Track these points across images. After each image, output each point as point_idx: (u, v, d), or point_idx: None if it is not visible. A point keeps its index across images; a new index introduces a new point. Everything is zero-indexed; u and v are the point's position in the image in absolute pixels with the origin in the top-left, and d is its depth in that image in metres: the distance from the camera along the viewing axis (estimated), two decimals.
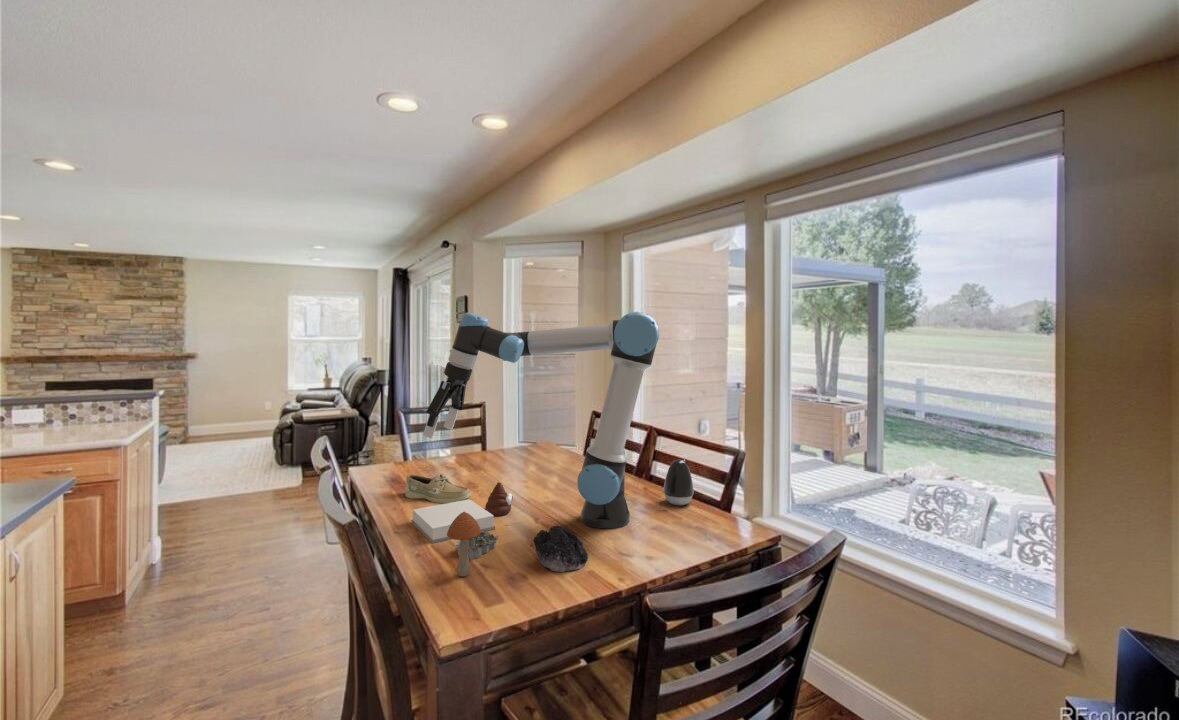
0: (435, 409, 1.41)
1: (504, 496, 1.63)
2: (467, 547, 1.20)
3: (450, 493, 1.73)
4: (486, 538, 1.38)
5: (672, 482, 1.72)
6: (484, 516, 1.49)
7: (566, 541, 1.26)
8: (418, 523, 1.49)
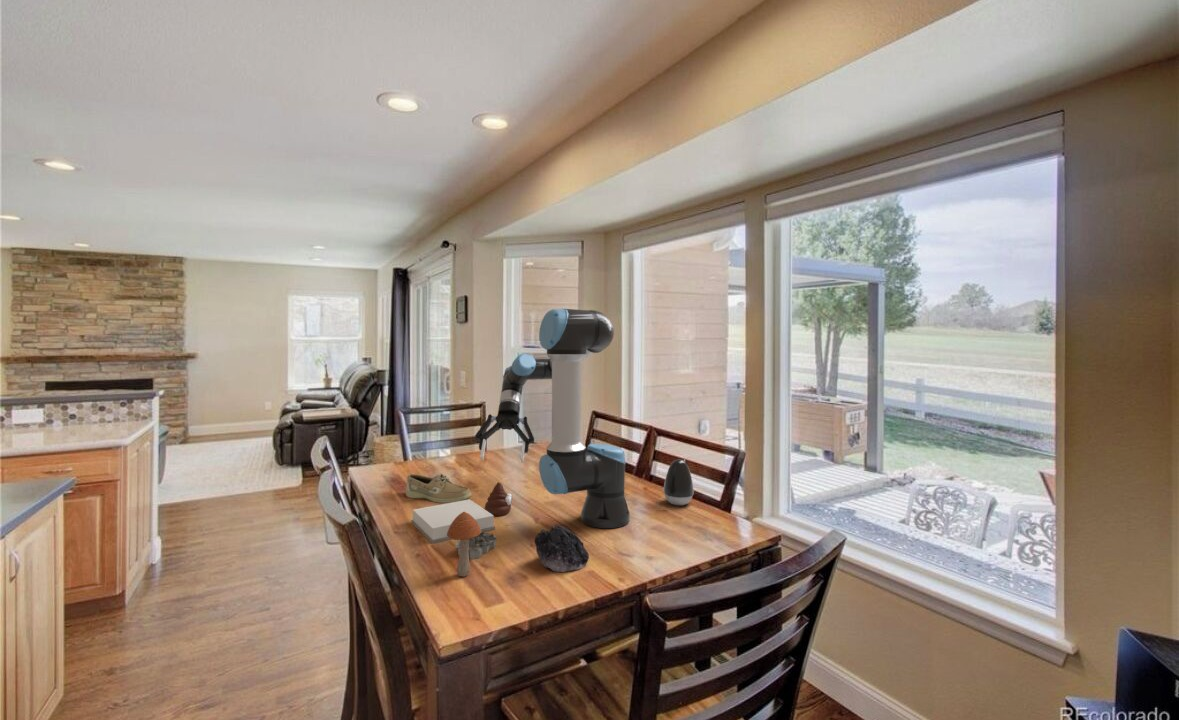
0: None
1: (504, 496, 1.63)
2: (467, 547, 1.20)
3: (450, 493, 1.73)
4: (486, 538, 1.38)
5: (672, 482, 1.72)
6: (484, 516, 1.49)
7: (567, 541, 1.26)
8: (418, 523, 1.49)
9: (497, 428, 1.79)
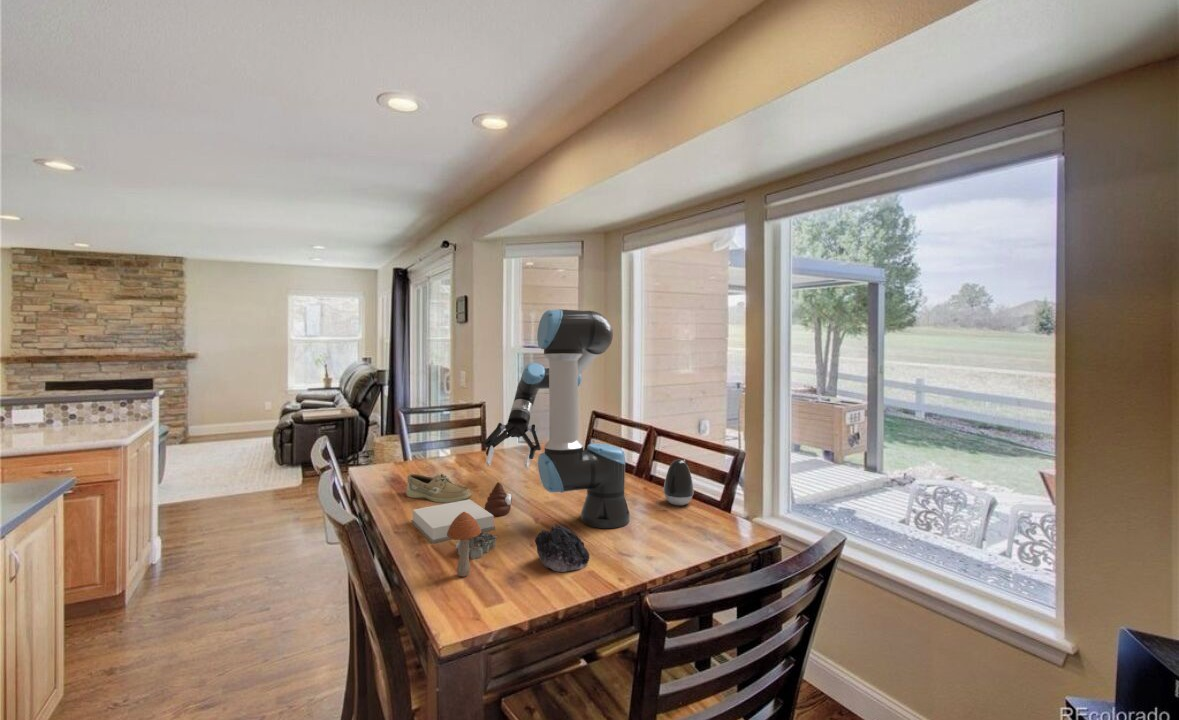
0: None
1: (503, 496, 1.63)
2: (467, 547, 1.20)
3: (450, 492, 1.73)
4: (485, 538, 1.38)
5: (672, 482, 1.72)
6: (484, 516, 1.49)
7: (568, 541, 1.26)
8: (418, 523, 1.49)
9: (506, 436, 1.81)
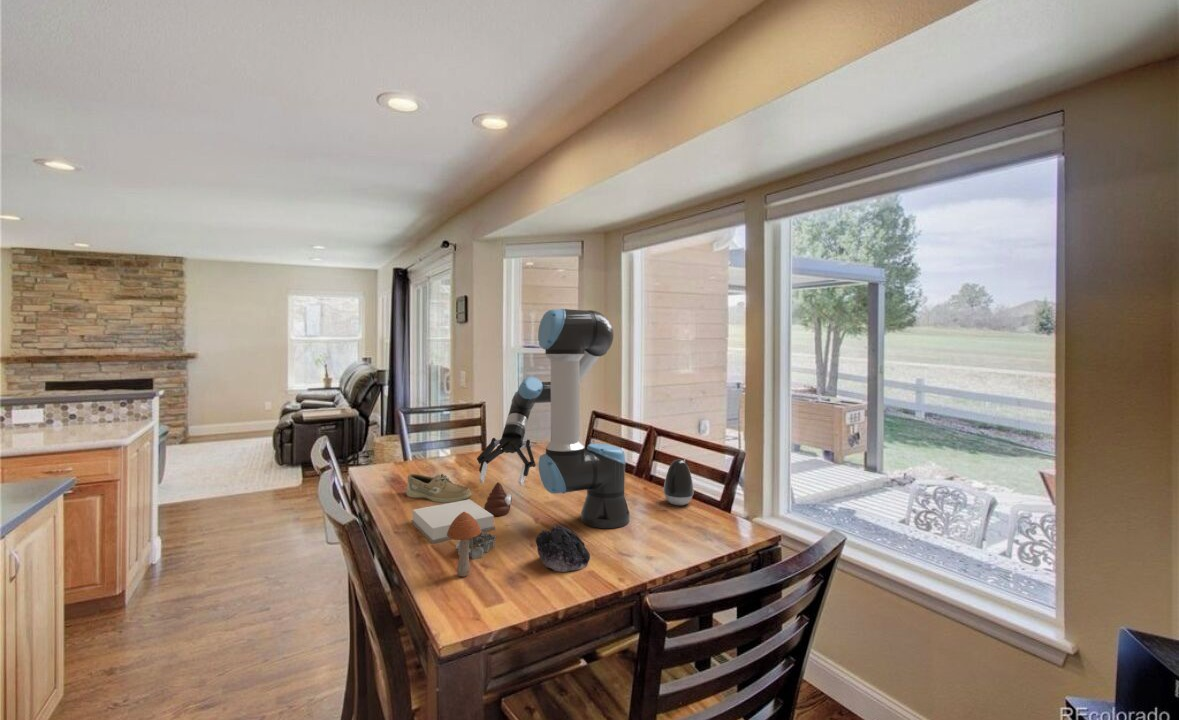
0: None
1: (503, 496, 1.63)
2: (467, 547, 1.20)
3: (450, 492, 1.73)
4: (484, 538, 1.39)
5: (672, 482, 1.72)
6: (484, 516, 1.49)
7: (568, 541, 1.26)
8: (418, 523, 1.49)
9: (500, 451, 1.76)
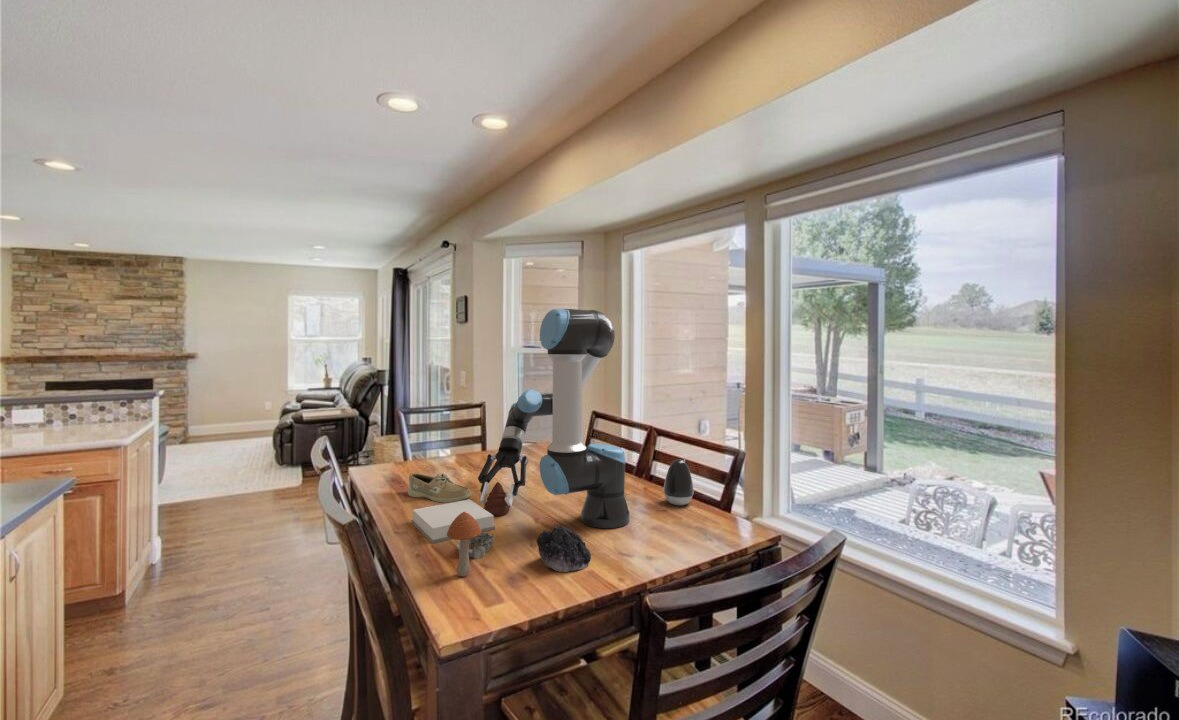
0: None
1: (503, 496, 1.63)
2: (467, 547, 1.20)
3: (450, 492, 1.73)
4: (481, 537, 1.39)
5: (672, 482, 1.72)
6: (484, 516, 1.49)
7: (569, 541, 1.26)
8: (418, 523, 1.49)
9: (498, 467, 1.70)
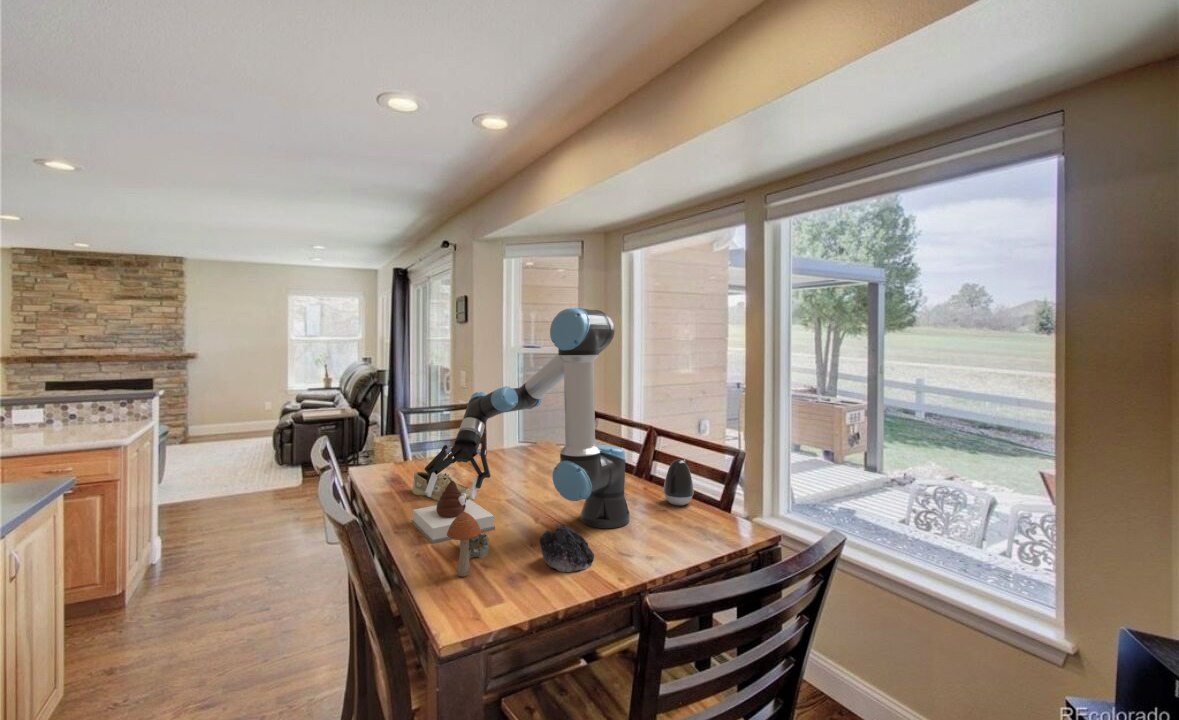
0: None
1: (457, 496, 1.49)
2: (467, 547, 1.20)
3: None
4: (474, 538, 1.39)
5: (672, 482, 1.72)
6: (484, 516, 1.49)
7: (572, 541, 1.26)
8: (418, 523, 1.49)
9: (451, 460, 1.57)
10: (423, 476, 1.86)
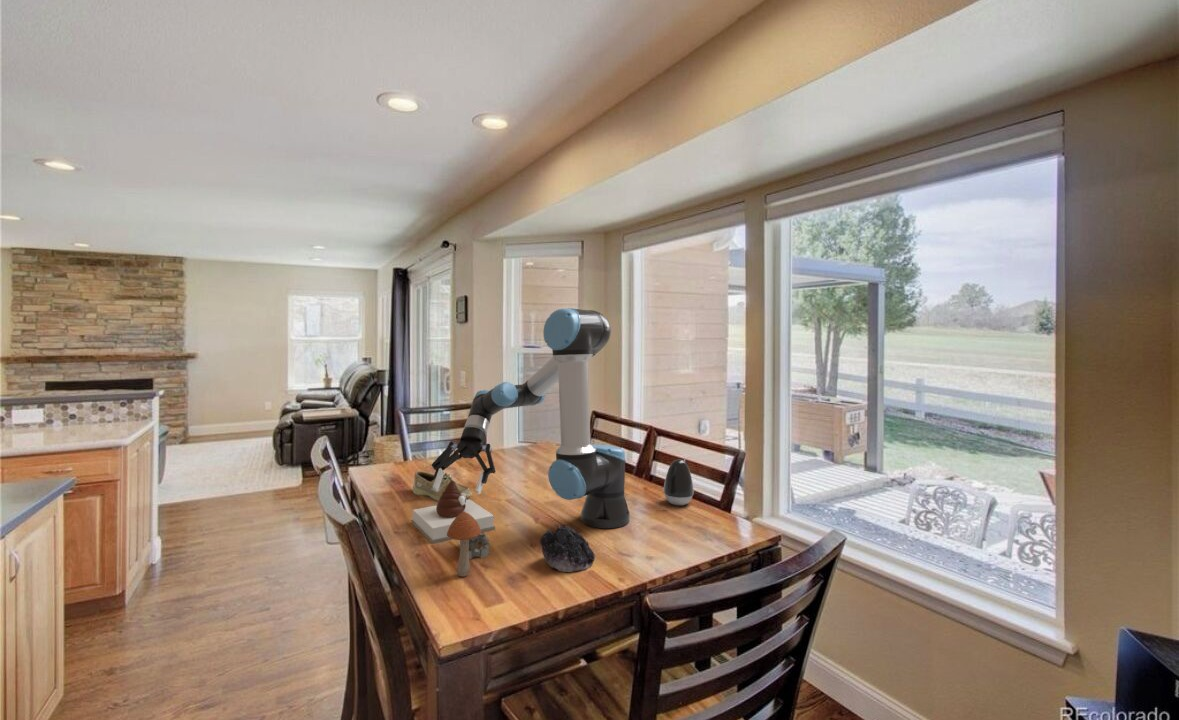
0: None
1: (457, 496, 1.49)
2: (467, 547, 1.20)
3: None
4: None
5: (672, 482, 1.72)
6: (484, 516, 1.49)
7: (573, 541, 1.26)
8: (418, 523, 1.49)
9: (457, 457, 1.62)
10: (423, 476, 1.86)
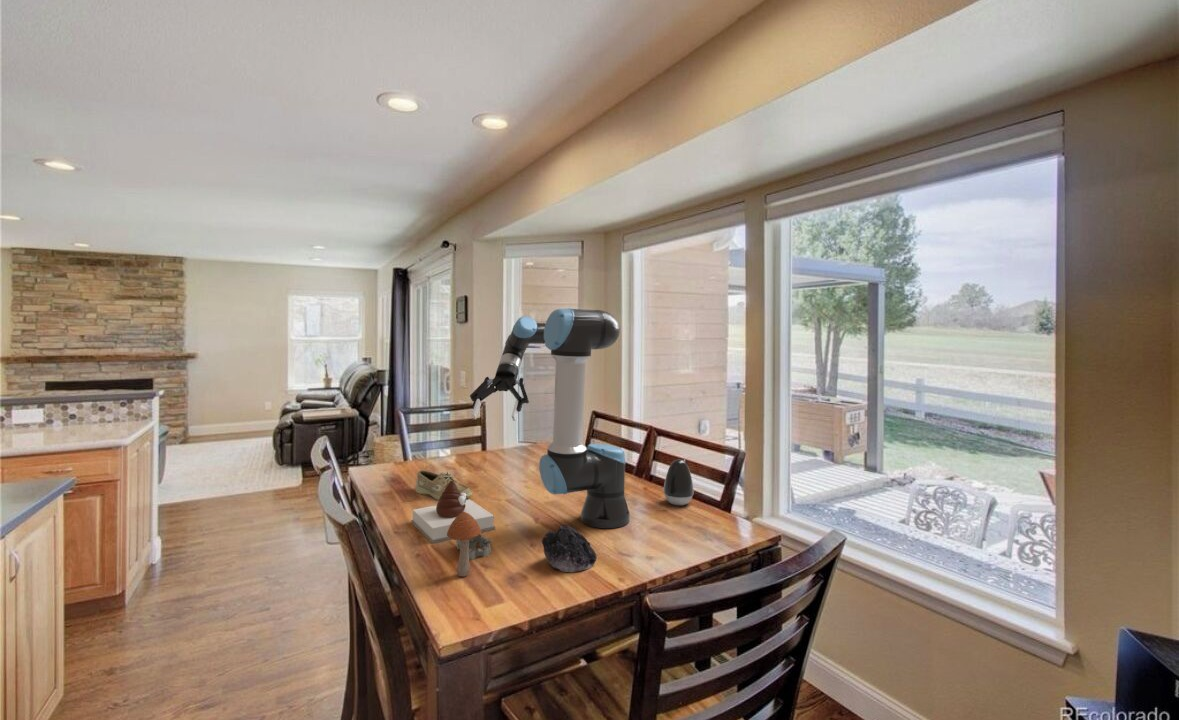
0: None
1: (456, 496, 1.49)
2: (467, 547, 1.20)
3: None
4: None
5: (672, 482, 1.72)
6: (484, 516, 1.49)
7: (575, 541, 1.26)
8: (418, 523, 1.49)
9: (493, 389, 1.76)
10: (426, 475, 1.87)
